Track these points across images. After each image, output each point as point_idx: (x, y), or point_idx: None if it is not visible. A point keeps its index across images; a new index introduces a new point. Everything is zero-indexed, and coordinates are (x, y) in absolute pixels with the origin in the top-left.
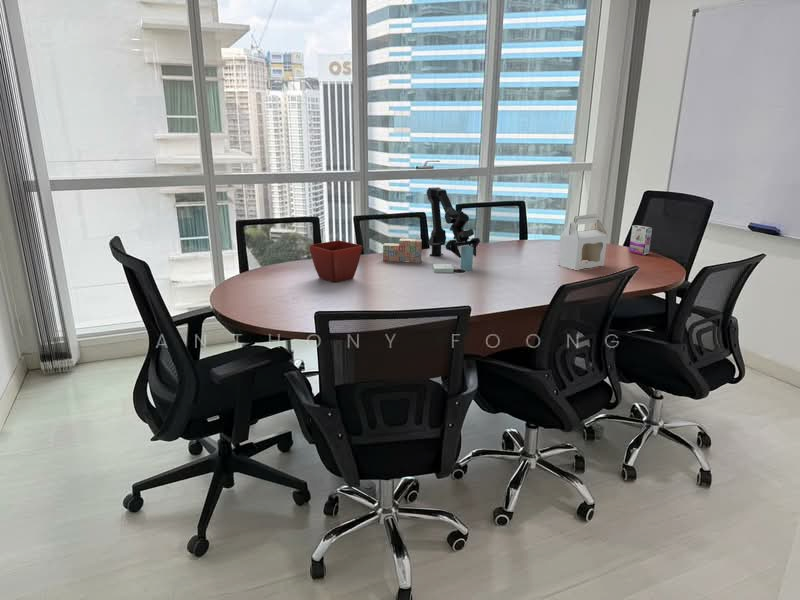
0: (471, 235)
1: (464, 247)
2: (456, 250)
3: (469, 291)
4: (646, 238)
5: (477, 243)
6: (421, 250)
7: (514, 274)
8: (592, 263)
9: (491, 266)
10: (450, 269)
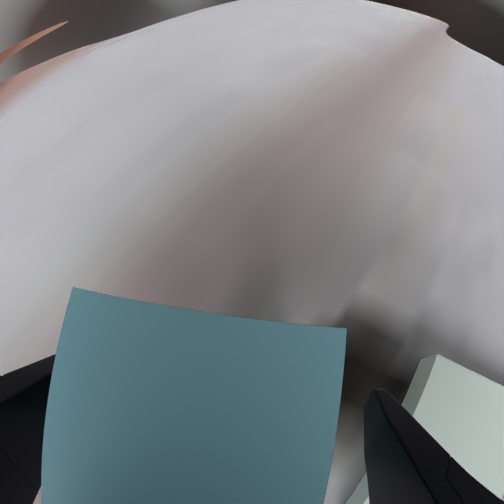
0: None
1: (310, 454)
2: (464, 480)
3: (441, 73)
4: None
5: None
6: None
7: (87, 133)
8: None
9: (18, 339)
10: (453, 365)
